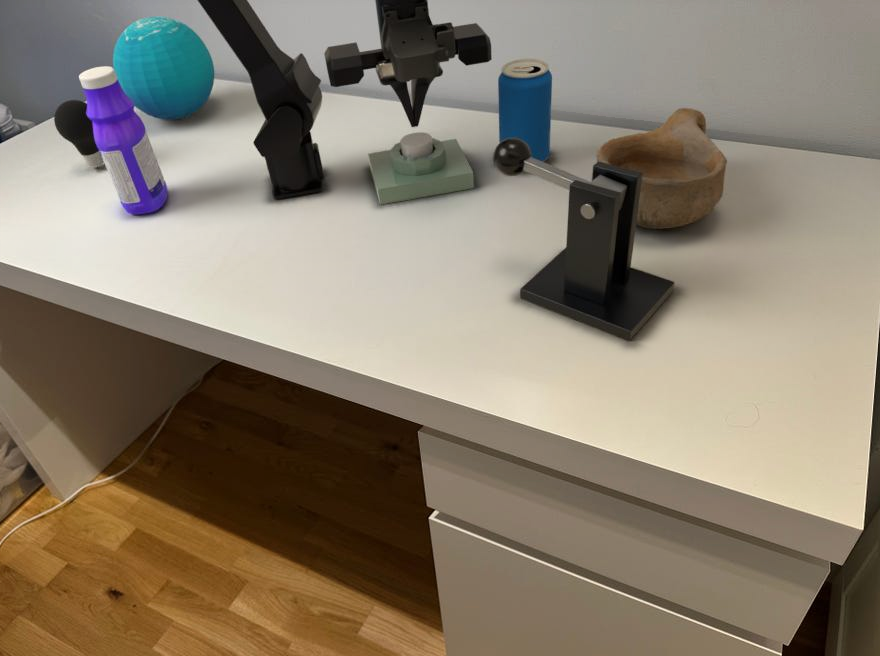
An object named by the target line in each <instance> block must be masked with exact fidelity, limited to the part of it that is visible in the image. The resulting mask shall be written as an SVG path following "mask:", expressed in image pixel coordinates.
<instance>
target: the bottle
mask: <svg viewBox="0 0 880 656" xmlns="http://www.w3.org/2000/svg"><path fill="white" fill-rule="evenodd" d="M78 79H79V82H80V84H81V87H82V89H83V92H84V94H85V98H86V103H87V111H86V114H87V117H88V118H89V119H90V120H92V123H93V133H94V138H95V142H96V145H97V147H98V149H99V151H100V153H101V156H102V158H103V160H104V162H103V164H104V165H105V168H106V170H107V172H108V174H109V178H110V179H111V181H112V185H113V187H114V190H115V192H116V194H117V196H118V198H119V200H120V204H121V206H122V207H123V209H124V210H125V211H126V212H127V213H128V214H130V215H142V214H150V213H154V212H156V211H158V210H160V209H161V208H162V207H163V206H164V204H165V202H166V201H167V198H168V186H167V185H168V184H167V182H166V180H165V178H164V175H163V172H162V170H161V167H160V164H159V162H158V159H157V157H156V153H155V152H154V149H153V146H152V143H151V139H150V137H149V134H148V132H147V130H146V126H145V124H144V122H143V120H142V119H141V117H140V115H139V114H138V113H136V111H135V106H134V102H133V101H132V100H131V99H130V98H129V97H128V96H127V95H126V94H125V93H124V91H123V89H122V88H121V86H120V83H119V81H118V78H117V76H116V74H115V71H114V67H112V66H107V65H105V66H96V67H92V68H90V69H87V70H84V71H82V72H81V73H80V74H79V75H78Z"/></svg>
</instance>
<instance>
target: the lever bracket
mask: <svg viewBox="0 0 880 656" xmlns="http://www.w3.org/2000/svg"><path fill="white" fill-rule="evenodd" d="M591 175H592V177H591V182H592V181H593V180H594V179H595V178H596V177H598V176H599V175H602V176H605V177H607V178H609V179H612V180H614V181H617V182H619V183H622V184H624V185H626V186H627V190H626V193H625V197H624V201H623V204H622V208H621V209H620V210H619V204H620V195H621V192H617V191H614V190H610V189H606V188H603V187H599V186H595V185H592V184H588V183H585V182H581V181H577V180H575V181H574V182H572V183H571V184H570V188H569V190H568V209H567V210H568V211H567V225H566V243H565V245H566V246H565V248H564V249H563V250H561V251H560V252H559V253H558V254H557V255H556V256H555V257H554V258H553V259H552V260H550V261H549V262H548V263H547V264H546V265H544V267H543V268H541V269H540V270H539V271H538V272H537V273H536V274H535V275H534V276H533V277H532V278H530V280H528V281H527V282H526V283H525V284H524V285H523V286H522V287H521V288H519V289H520V290H519V298H520V299H522V300H525V301H527V302H529V303H532V304H533V305H536V306H540V307H542V308H544V309H547V310H550V311H551V312H554V313H557V314H560V315H563V316H565V317H568V318H570V319H573V320H575V321H578V322H581V323H583V324H585V325H587V326H590V327H593V328H595V329H598V330H600V331H602V332H605V333H608V334H611V335H613V336H615V337H618V338H621V339H622V340H626V341H628V342H630V341H631V340H632V339H633V338H634V336H636V334H637V333H638V332H639V331H640V330H641V329H642V327H643V326H644V325H645V324H646V323H647V322H648V320H649V319H651V317H652V316H653V315H654V314H655V313H656V312H657V310H658V309H659V308H660V307H661V306H662V305H663V303H664V302H665V301H666V300H667V299H668V297H670V295H672V293H673V292H674V288H675V281H674V280H670V279H668V278H664V277H661V276H658V275H656V274H653V273H649V272H647V271H643V270H640V269H638V268H634V267H632V259H633V253H634V243H635V236H636V229H637V225H636V222H637V214H638V206H639V199H640V191H641V183H642V175H643V173H642V172H638V171H634V170H631V169H627V168H623V167H619V166H615V165H611V164H607V163H603V162H597V161H596V163H594V164H593V165H592V174H591Z"/></svg>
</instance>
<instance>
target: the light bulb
mask: <svg viewBox="0 0 880 656" xmlns="http://www.w3.org/2000/svg"><path fill="white" fill-rule="evenodd" d="M86 111H87V102H85V101H82V100H78V99H70V100H66V101H64V102H62V103H60V104H59V106H57V108H56V110H55V112H54V117H53V120H54V126H55V129H56V131H57V132H58V134H59V135H60V136H61V137H62V138H63V139H65V140H66V141H68V142H70V143H71V144H72V145H73V146H74V147H75V148H76V150H77V151H78V152H79V154H80V155H81V156H82V158H83V160H84V162H85V164H86V167H88V168H92V169H94V170H98V169H100V168H101V167H102V165H103V164H104V160H103V158H102V156H101V153H100V151H99V149H98V147H97V145H96V142H95V138H94V133H93V123H92V120H90V119H89V118H88V117H87V114H86Z"/></svg>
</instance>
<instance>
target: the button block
mask: <svg viewBox="0 0 880 656" xmlns="http://www.w3.org/2000/svg"><path fill="white" fill-rule="evenodd" d="M432 142H433V153H432V154H430V155H428V156H425V157H420V158H406V157H404V156H403V155H402V150H401V142H400V141H399V142H397V143H395V144H394V145H393V147H392V148H391V149H388V150H380V151H376V152H371V153H367V156H368V162H369V168H370V173H371V177H372V180H373V183H374V187H375V191H376V195H377V199H378V202H379V205H380V206H381V205H386V204H392V203H398V202H403V201H408V200H409V201H410V200H414V199H420V198H426V197H431V196H437V195H443V194H450V193H454V192H455V193H456V192H461V191H465V190H466V191H467V190H471V189H474V188H475V180H474V179H475V178H474V171H473V169H472V167H471V165H470V164H469V161H468V159H467V158H466V156H465V153H464V151H463V150H462V148H461V145H460V144H459V142H458V140H457V138H451V139H445V140H439V139H437V138H434V137H432Z"/></svg>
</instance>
